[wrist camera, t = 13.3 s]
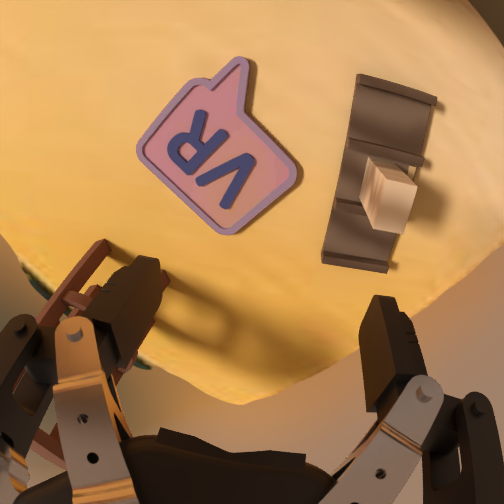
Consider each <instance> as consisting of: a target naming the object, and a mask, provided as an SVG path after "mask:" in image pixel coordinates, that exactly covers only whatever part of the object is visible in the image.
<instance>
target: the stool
mask: <svg viewBox="0 0 504 504" xmlns="http://www.w3.org/2000/svg"><path fill="white" fill-rule="evenodd" d="M110 251H111V249H110V247H109V245H108V244H107V242H106V240H105V239H102V240H99V241H96V242H95V243H94V244H93V245H92V247H91V248H90V249H89V250H88V251H87V253H86V254H85V255H84V256H83V257H82V259H81V260H80V261H79V262H78V263H77V265H76V266H75V267H74V268H73V270H72V271H71V272H70V273H69V275H68V276H67V277H66V278H65V280H64V281H63V282H62V284H61V285H60V286H59V288H58V289H57V290H56V292H55V293H54V294H53V296H52V297H51V298H50V300H49V301H48V302H47V304H46V305H45V307H44V308H43V309H42V311H41V312H40V313H39V315H38V316H37V318H36V322H37V324H38V326H42V327H58V325H59V324H60V322H59V319H60V317H61V316H62V314H63V313H64V312H65V310H66V309H67V307H68V306H72V307H74V309H73V310H72V311H71V313H70V314H69V316H68V317H67V319H68V318H70V317H75V316H81V315H82V313H83V312H84V311H85V309H86V308H87V307H88V305H89V304H90V303H91V301H92V300H93V299H94V297H95V296H96V295H97V294H98V292H99V291H100V290H101V289H100V288H99V286H98V284H97V285H93V286H90V287H89V288H88V289H87V291H86V292H85V293H84V294H81V293H78V292H79V291H80V290H81V288H82V287H83V286H84V284H85V283H86V282H87V280H88V279H89V278H90V276H91V275H92V274H93V273H94V271H95V270H96V269H97V268H98V266H99V265H100V264H101V262H102V261H103V260H104V259H105V257H106V256H107V255H108V254H109V253H110ZM161 281H162V291H164V290H165V288H166V287H167V285H168V284H169V282H170V280H169V278H168V276H167V274H166V273H165V271H164V270H161ZM154 323H155V320H154V319H152V321H151V322H150V324H149V326H148V328H147V330H146V332H145V334H144V336H143V337H142V339H141V341H140V343H139V345H138V347H137V349H136V351H135V353H134V355H133V357H132V358H131V360H130V362H129V364H128V366H127V368H126V369H123V368H120V367H117V366H115V368H114V370H113V372H112V375H113V379H114V382H115V386H116V385H117V384H118V382H119V380H120V378H121V377H122V375H123V373H126V372H127V371H129V370H130V369H131V368H132V366H133V364H134V362H135V361H136V358H137V354H138V349H139V347H140V345H141V344H142V342H143V340H144V339H145V337H146V335H147V334H148V332H149V331H150V329H151V327H152V326H153V324H154ZM25 371H26V369H25V368H24V369H23V371H22V372H21V374H20V376H19V377H18V379H17V381H16V383H15V384H14V386H13V391H12V393H13V392H14V390H15V388H16V386H17V385H18V383H19V381H20V379H21V378H22V376H23V374H24V373H25ZM53 398H54V397H53ZM30 449H31V450H33V451H34V452H36V453H37V454H39V455H41V456H42V457H44V458H45V459H47V460H49V461H50V462H52V463H54V464H55V465H57V466H59V467H61V468H63V469H65V470H67V467H66V463H65V459H64V455H63V450H62V445H61V441H60V435H59V430H58V424H57V423H56V425H55V427H54V428H53V430H52V432H51V434H50V435H48V434H47V433H45V432H44V431H43V430H41V429H40V428H38V430H37V432H36V434H35V437H34V439H33V441H32V444H31V446H30Z"/></svg>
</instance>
